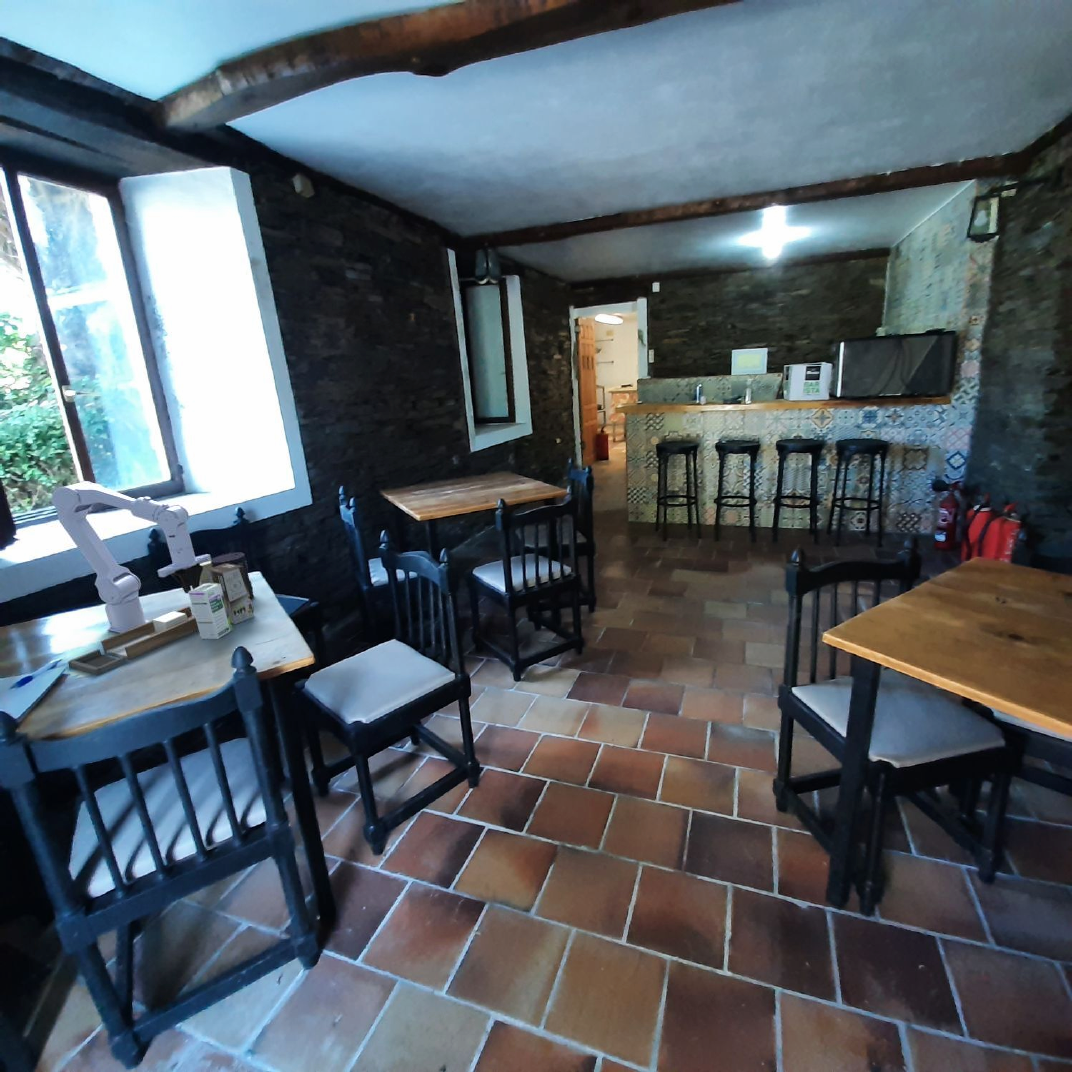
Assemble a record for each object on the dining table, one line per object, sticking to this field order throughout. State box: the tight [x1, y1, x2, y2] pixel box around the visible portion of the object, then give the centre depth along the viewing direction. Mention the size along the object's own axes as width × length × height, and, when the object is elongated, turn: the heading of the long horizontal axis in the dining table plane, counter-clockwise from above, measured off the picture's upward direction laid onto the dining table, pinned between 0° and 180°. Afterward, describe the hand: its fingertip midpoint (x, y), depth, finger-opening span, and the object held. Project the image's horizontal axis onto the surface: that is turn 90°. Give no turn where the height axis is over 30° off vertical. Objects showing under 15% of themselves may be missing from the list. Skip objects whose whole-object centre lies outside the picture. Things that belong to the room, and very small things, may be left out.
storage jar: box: [211, 551, 255, 601], centre depth 178 cm, size 10×10×15 cm
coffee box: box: [207, 563, 255, 625], centre depth 163 cm, size 9×6×16 cm
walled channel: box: [100, 605, 199, 661], centre depth 156 cm, size 12×24×4 cm, turn 154°
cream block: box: [152, 610, 188, 633], centre depth 158 cm, size 6×6×4 cm
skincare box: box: [199, 561, 212, 586], centre depth 182 cm, size 6×4×12 cm
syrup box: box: [187, 583, 234, 640], centre depth 153 cm, size 6×6×14 cm
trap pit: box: [67, 648, 128, 676], centre depth 142 cm, size 13×7×2 cm, turn 64°
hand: (192, 591), depth 163 cm, fingers closed
